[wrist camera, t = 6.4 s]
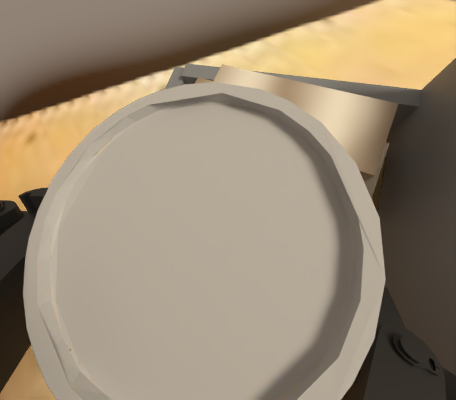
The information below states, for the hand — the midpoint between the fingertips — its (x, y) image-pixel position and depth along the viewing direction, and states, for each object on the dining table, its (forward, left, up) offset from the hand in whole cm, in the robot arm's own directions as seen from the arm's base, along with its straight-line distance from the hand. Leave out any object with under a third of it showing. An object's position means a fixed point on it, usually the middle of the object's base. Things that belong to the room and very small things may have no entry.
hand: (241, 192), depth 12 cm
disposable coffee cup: (0, +3, -5) cm, 6 cm away
